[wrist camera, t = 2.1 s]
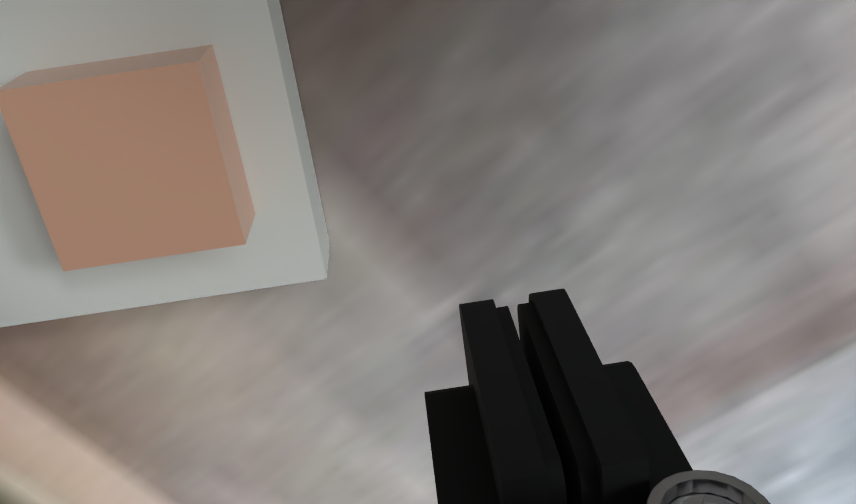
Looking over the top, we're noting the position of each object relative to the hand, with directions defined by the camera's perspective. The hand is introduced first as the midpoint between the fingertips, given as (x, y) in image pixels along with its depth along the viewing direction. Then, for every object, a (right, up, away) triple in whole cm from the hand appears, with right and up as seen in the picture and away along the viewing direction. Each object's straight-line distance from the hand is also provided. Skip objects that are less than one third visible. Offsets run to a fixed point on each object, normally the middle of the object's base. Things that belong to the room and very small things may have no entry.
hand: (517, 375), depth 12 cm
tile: (-11, +6, +14) cm, 18 cm away
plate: (-12, +7, +16) cm, 22 cm away
